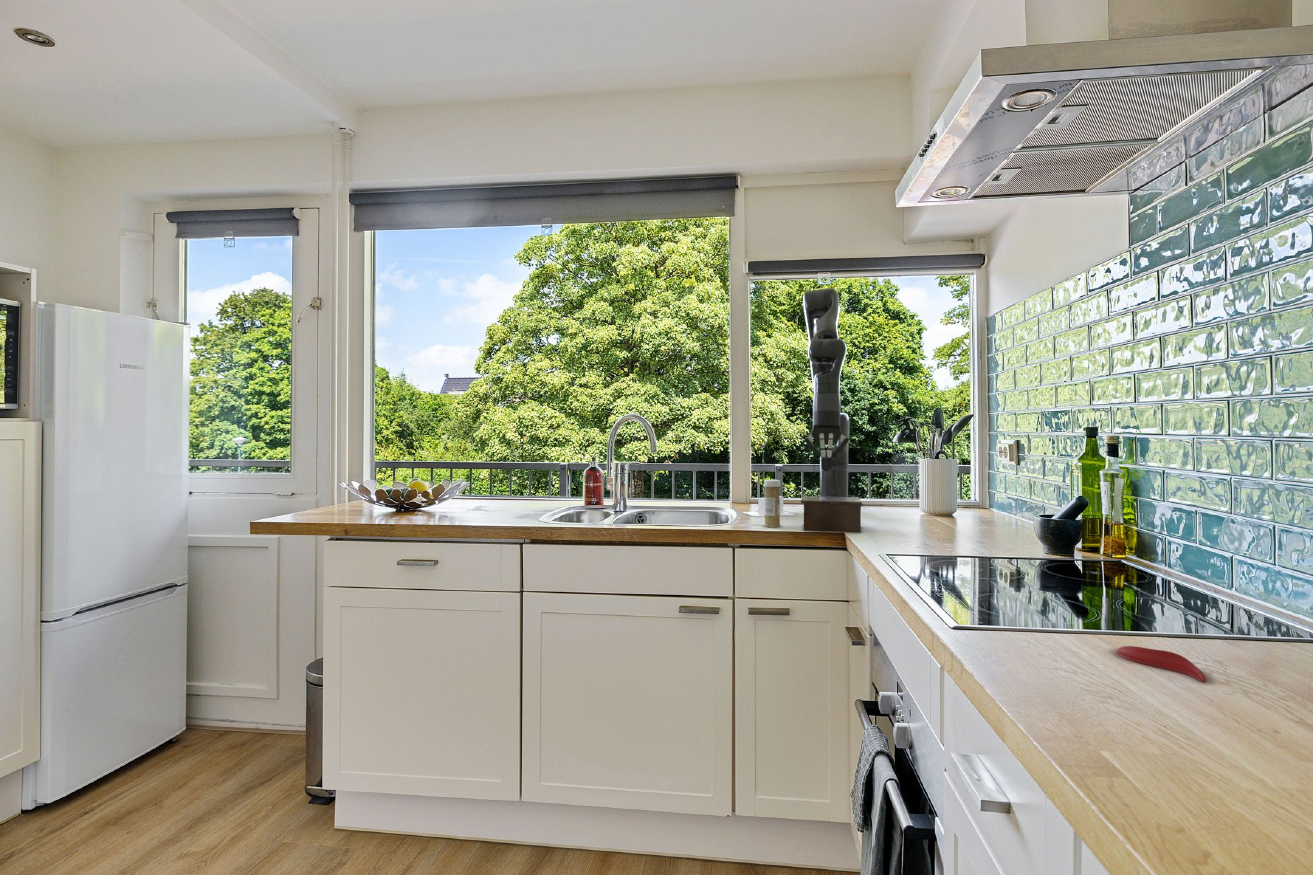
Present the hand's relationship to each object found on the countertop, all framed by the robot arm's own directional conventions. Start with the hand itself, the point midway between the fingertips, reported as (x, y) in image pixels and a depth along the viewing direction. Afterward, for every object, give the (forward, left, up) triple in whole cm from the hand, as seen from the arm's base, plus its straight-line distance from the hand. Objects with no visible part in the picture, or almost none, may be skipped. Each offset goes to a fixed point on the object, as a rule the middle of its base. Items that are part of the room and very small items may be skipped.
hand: (826, 470), depth 209 cm
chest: (-1, +1, -16) cm, 16 cm away
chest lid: (-1, +1, -9) cm, 9 cm away
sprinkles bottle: (+6, -14, -16) cm, 22 cm away
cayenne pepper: (+84, +84, -16) cm, 121 cm away
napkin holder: (-20, -30, -16) cm, 39 cm away
